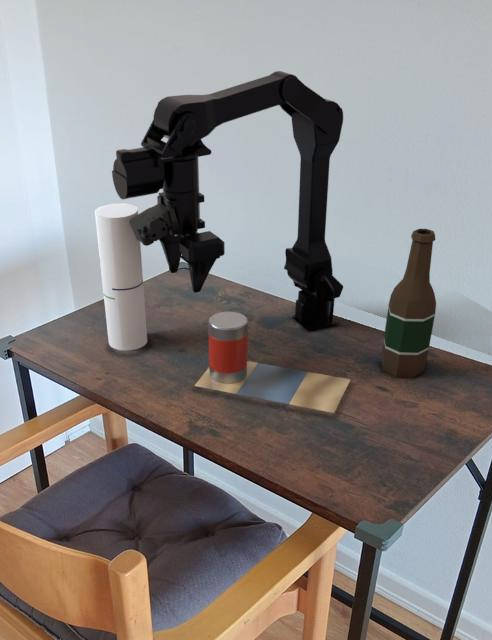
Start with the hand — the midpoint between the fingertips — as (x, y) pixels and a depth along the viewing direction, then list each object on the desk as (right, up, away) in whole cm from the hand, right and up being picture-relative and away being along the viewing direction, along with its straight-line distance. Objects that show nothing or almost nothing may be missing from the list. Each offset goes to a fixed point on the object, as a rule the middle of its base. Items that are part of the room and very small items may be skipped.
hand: (185, 282), depth 127 cm
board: (+15, -18, 0) cm, 23 cm away
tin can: (+7, -15, +1) cm, 17 cm away
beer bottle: (+38, -14, +4) cm, 41 cm away
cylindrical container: (-11, -9, +13) cm, 19 cm away
